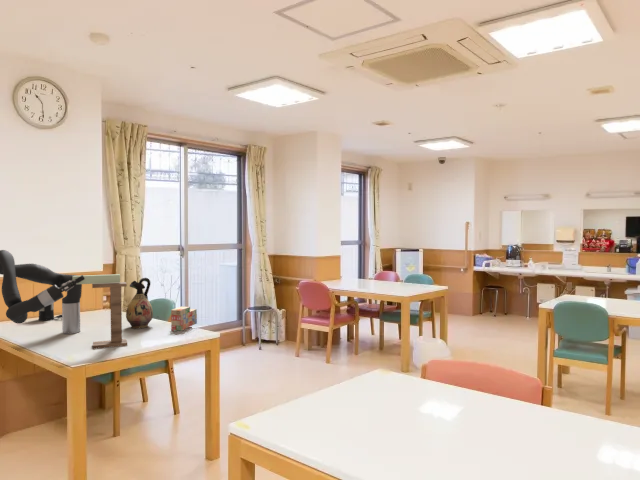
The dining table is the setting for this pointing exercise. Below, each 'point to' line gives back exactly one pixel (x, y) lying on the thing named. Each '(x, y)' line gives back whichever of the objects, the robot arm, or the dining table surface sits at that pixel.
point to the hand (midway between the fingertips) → (83, 276)
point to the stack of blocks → (183, 318)
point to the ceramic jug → (139, 306)
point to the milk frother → (47, 313)
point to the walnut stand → (113, 316)
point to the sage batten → (99, 279)
